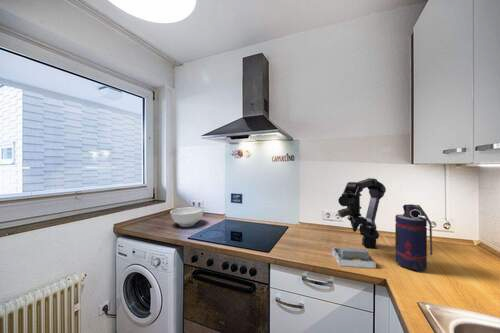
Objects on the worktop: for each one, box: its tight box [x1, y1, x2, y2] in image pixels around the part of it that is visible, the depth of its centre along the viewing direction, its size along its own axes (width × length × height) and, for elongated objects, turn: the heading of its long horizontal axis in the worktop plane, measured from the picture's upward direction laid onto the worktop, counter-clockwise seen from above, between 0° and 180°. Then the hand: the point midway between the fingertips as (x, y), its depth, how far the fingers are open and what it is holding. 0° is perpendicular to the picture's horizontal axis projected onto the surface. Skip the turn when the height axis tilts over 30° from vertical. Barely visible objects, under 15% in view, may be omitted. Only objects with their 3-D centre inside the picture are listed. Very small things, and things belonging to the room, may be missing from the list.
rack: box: [330, 247, 377, 269], centre depth 102 cm, size 16×15×4 cm
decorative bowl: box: [169, 206, 205, 228], centre depth 164 cm, size 27×27×12 cm
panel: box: [339, 247, 370, 261], centre depth 99 cm, size 12×4×6 cm, turn 81°
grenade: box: [394, 203, 433, 273], centre depth 95 cm, size 14×12×30 cm
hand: (354, 231), depth 112 cm, fingers closed
